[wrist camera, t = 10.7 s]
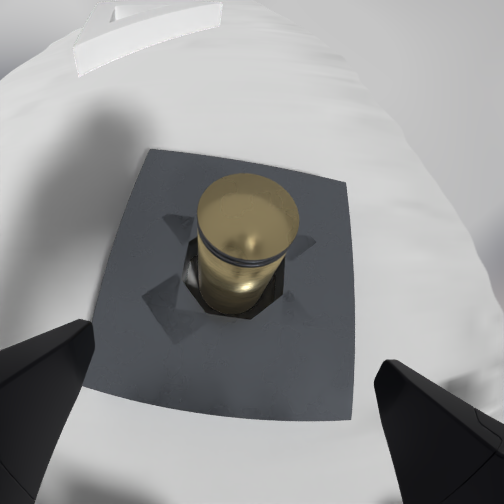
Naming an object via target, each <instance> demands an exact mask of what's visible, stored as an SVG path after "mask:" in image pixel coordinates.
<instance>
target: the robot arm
mask: <svg viewBox="0 0 504 504" xmlns="http://www.w3.org/2000/svg"><path fill="white" fill-rule="evenodd" d="M94 351H95V339H94V330H93V325H92V323H91V322H90V321H86V320H83V319H78V320H75V321H73V322H70V323H68V324H65V325H63V326H60V327H58V328H55V329H53V330H50V331H48V332H45V333H43V334H40V335H38V336H36V337H33V338H31V339H28V340H26V341H23V342H21V343H18V344H16V345H13V346H11V347H8V348H6V349H3V350H1V351H0V504H34V503H35V500H36V497H37V494H38V491H39V488H40V485H41V482H42V480H43V477H44V474H45V472H46V469H47V466H48V464H49V461H50V459H51V456H52V454H53V451H54V449H55V446H56V444H57V441H58V439H59V437H60V434H61V432H62V430H63V427H64V425H65V423H66V421H67V418H68V416H69V414H70V412H71V410H72V407H73V405H74V403H75V401H76V399H77V397H78V395H79V392H80V390H81V387H82V384H83V382H84V379H85V376H86V373H87V370H88V367H89V365H90V362H91V359H92V356H93V354H94ZM374 388H375V393H376V398H377V403H378V408H379V413H380V418H381V423H382V427H383V430H384V433H385V437H386V440H387V444H388V447H389V451H390V454H391V458H392V461H393V465H394V469H395V473H396V476H397V480H398V484H399V488H400V492H401V496H402V501H403V504H504V424H503V423H501V422H499V421H497V420H495V419H493V418H492V417H490V416H488V415H486V414H485V413H483V412H481V411H480V410H478V409H476V408H474V407H473V406H471V405H470V404H468V403H466V402H465V401H463V400H461V399H460V398H458V397H456V396H455V395H453V394H451V393H450V392H448V391H446V390H445V389H443V388H442V387H440V386H438V385H437V384H435V383H433V382H432V381H430V380H429V379H427V378H425V377H424V376H422V375H420V374H419V373H417V372H416V371H414V370H412V369H411V368H409V367H407V366H406V365H404V364H403V363H401V362H399V361H398V360H395V359H393V360H385V361H384V362H383V363H382V365H381V367H380V369H379V371H378V373H377V375H376V377H375V380H374Z"/></svg>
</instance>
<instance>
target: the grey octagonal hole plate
mask: <svg viewBox="0 0 504 504" xmlns="http://www.w3.org/2000/svg"><path fill="white" fill-rule="evenodd" d="M239 173H249V174H256V175H260V176H263V177H266V178H268V179H271V180H273V181H274V182H276V183H278V184H279V185H280V186H282V187H283V188H284V189H285V190H286V191H287V192H288V193H289V194H290V196H291V197H292V198H293V200H294V202H295V204H296V206H297V209H298V213H299V229H298V233H297V235H296V237H295V239H294V241H293V243H292V244H291V246H290V248H289V249H288V251H287V252H286V254H285V256H284V257H283V259H282V261H281V263H280V264H279V266H278V268H277V269H276V271H275V272H276V279H275V292H274V302H273V303H272V304H271V305H269V306H268V307H267V308H265V309H264V310H263V311H261V312H260V313H259V314H258V315H256V316H255V317H254V318H252V319H251V320H248V319H241V318H233V317H226V316H220V315H213V314H207V313H206V312H205V311H204V310H203V308H202V307H201V306H200V304H199V303H198V302H197V300H196V299H195V298H194V296H193V295H192V294H191V292H190V291H189V290H188V288H187V287H186V286H185V283H186V278H187V272H188V267H189V262H190V259H191V258H193V257H194V256H196V255H197V254H198V228H197V207H198V203H199V200H200V198H201V196H202V194H203V193H204V191H205V190H206V189H207V188H208V187H209V186H210V185H211V184H212V183H213V182H215V181H217V180H218V179H220V178H222V177H225V176H228V175H232V174H239ZM92 325H93V330H94V339H95V351H94V354H93V356H92V359H91V362H90V365H89V367H88V370H87V373H86V376H85V379H84V382H83V384H82V386H84V387H87V388H90V389H94V390H97V391H100V392H104V393H107V394H111V395H114V396H118V397H122V398H126V399H130V400H134V401H138V402H143V403H147V404H152V405H156V406H161V407H166V408H172V409H177V410H183V411H189V412H195V413H202V414H209V415H217V416H225V417H235V418H246V419H259V420H278V421H339V420H351V416H352V402H353V385H354V360H355V297H354V271H353V253H352V239H351V226H350V215H349V205H348V196H347V187H346V183H345V182H341V181H337V180H333V179H329V178H325V177H320V176H316V175H311V174H307V173H302V172H297V171H293V170H288V169H283V168H278V167H272V166H267V165H262V164H256V163H250V162H245V161H239V160H232V159H226V158H220V157H213V156H206V155H199V154H191V153H183V152H175V151H166V150H156V149H150V150H149V153H148V155H147V157H146V159H145V162H144V164H143V166H142V169H141V171H140V174H139V176H138V178H137V181H136V183H135V186H134V188H133V191H132V193H131V196H130V199H129V201H128V204H127V207H126V209H125V212H124V215H123V218H122V220H121V223H120V226H119V229H118V232H117V235H116V238H115V241H114V244H113V247H112V250H111V254H110V257H109V260H108V263H107V267H106V270H105V274H104V277H103V281H102V284H101V288H100V292H99V296H98V300H97V304H96V308H95V312H94V316H93V320H92Z"/></svg>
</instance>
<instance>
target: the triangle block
mask: <svg viewBox="0 0 504 504" xmlns="http://www.w3.org/2000/svg"><path fill="white" fill-rule="evenodd" d="M222 6H223V2H214V1H204V0H117V1H108V2H98V3H97V4H96V6H95V8H94V9H93V11H92V12H91V14H90V16H89V18H88V19H87V21H86V23H85V25H84V26H83V28H82V30H81V32H80V34H79V36H78V38H77V40H76V42H75V44H74V46H73V52H74V57H75V62H76V67H77V72H78V76H79V77H81V76H83V75H85V74H87V73H89V72H91V71H93V70H95V69H97V68H99V67H101V66H103V65H105V64H107V63H110V62H112V61H114V60H117V59H119V58H121V57H124V56H126V55H129V54H131V53H134V52H136V51H139V50H141V49H144V48H147V47H150V46H152V45H155V44H158V43H161V42H164V41H167V40H170V39H173V38H177V37H180V36H183V35H187V34H190V33H194V32H198V31H202V30H206V29H210V28H214V27H218V26H220V22H221V14H222Z"/></svg>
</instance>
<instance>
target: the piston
mask: <svg viewBox="0 0 504 504" xmlns="http://www.w3.org/2000/svg"><path fill="white" fill-rule="evenodd" d="M197 228H198V273H199V289H200V293H201V295H202V297H203V299H204V301H205V302H206V303H207V304H208V305H209V306H210V307H211V308H213V309H214V310H216V311H218V312H221V313H224V314H239V313H243V312H245V311H247V310H249V309H250V308H252V307H253V306H254V305H255V304H256V303H257V301H258V300H259V298H260V296H261V295H262V293H263V291H264V290H265V288H266V286H267V285H268V283H269V281H270V280H271V278H272V276H273V274H274V273H275V271H276V269H277V268H278V266H279V264H280V263H281V261H282V259H283V257H284V256H285V254H286V252H287V251H288V249H289V248H290V246H291V244H292V243H293V241H294V239H295V237H296V235H297V233H298V229H299V213H298V209H297V206H296V204H295V202H294V200H293V198H292V197H291V196H290V194H289V193H288V192H287V191H286V190H285V189H284V188H283V187H282V186H280V185H279V184H278V183H276V182H274V181H273V180H271V179H268V178H266V177H263V176H260V175H256V174H249V173H239V174H232V175H228V176H225V177H222V178H220V179H218V180H217V181H215V182H213V183H212V184H211V185H210V186H209V187H208V188H207V189H206V190H205V191H204V193H203V194H202V196H201V198H200V200H199V203H198V207H197Z"/></svg>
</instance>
